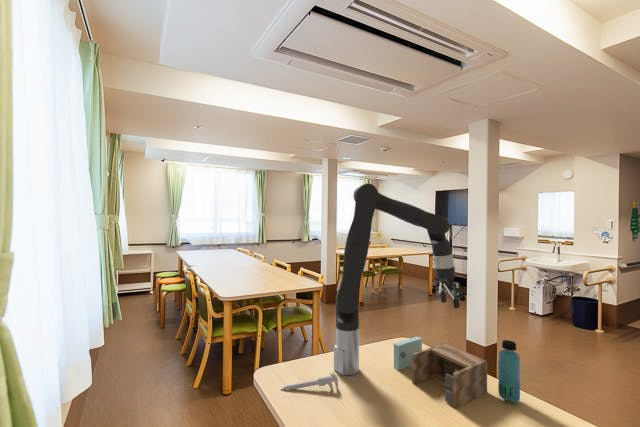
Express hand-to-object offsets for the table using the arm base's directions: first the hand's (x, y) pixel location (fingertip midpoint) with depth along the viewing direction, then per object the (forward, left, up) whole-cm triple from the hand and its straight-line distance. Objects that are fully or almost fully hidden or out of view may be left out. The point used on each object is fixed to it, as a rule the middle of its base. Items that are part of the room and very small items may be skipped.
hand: (450, 305), depth 129 cm
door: (-11, +12, -26) cm, 31 cm away
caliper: (-55, +18, -26) cm, 64 cm away
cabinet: (-12, -8, -26) cm, 30 cm away
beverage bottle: (-2, -24, -26) cm, 36 cm away
